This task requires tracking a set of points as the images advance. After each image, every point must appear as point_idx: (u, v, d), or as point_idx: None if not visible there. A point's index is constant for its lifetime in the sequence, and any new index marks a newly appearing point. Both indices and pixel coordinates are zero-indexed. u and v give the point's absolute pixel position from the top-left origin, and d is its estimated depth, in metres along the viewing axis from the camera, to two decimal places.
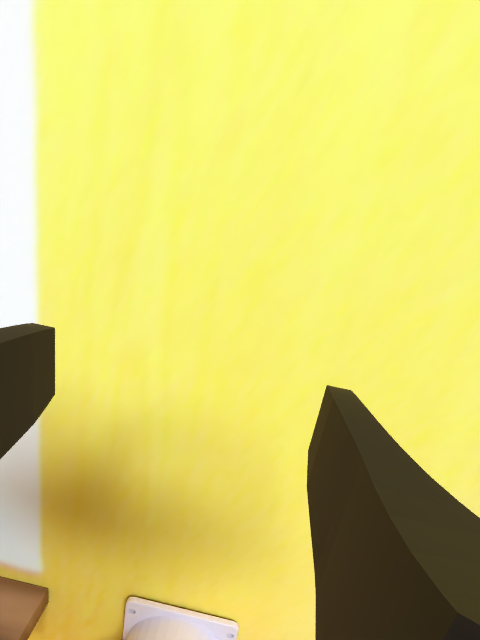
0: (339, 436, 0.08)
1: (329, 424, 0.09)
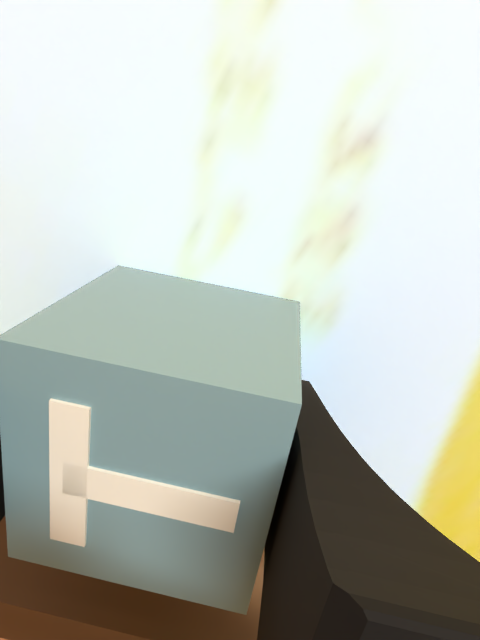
0: None
1: None
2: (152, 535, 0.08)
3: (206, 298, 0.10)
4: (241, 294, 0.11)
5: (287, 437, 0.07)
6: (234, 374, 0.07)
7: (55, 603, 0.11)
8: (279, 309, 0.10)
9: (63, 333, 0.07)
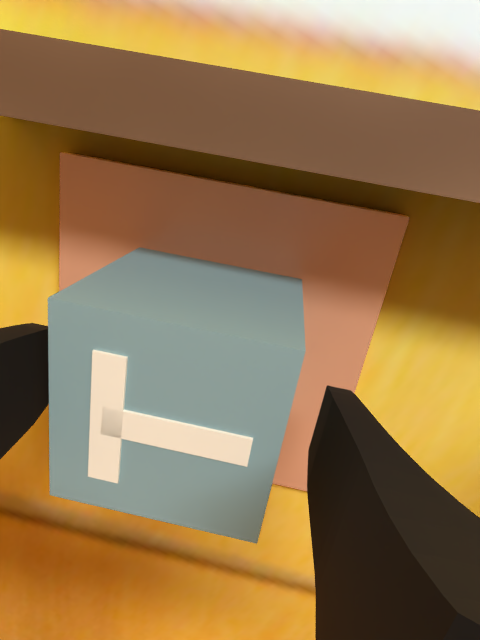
0: (339, 436, 0.08)
1: (329, 424, 0.09)
2: (176, 471, 0.09)
3: (219, 274, 0.11)
4: (250, 272, 0.12)
5: (293, 380, 0.08)
6: (249, 329, 0.08)
7: (265, 77, 0.08)
8: (284, 284, 0.12)
9: (102, 296, 0.08)
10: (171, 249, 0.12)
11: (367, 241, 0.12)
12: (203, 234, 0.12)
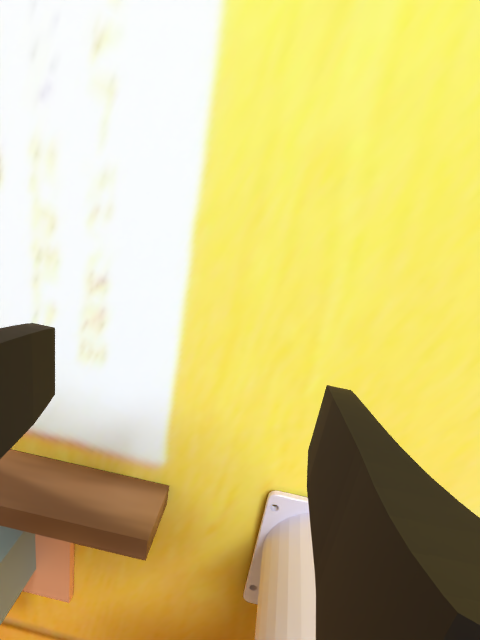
0: (339, 436, 0.08)
1: (329, 424, 0.09)
2: None
3: None
4: None
5: None
6: None
7: None
8: None
9: None
10: None
11: None
12: None
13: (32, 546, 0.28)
